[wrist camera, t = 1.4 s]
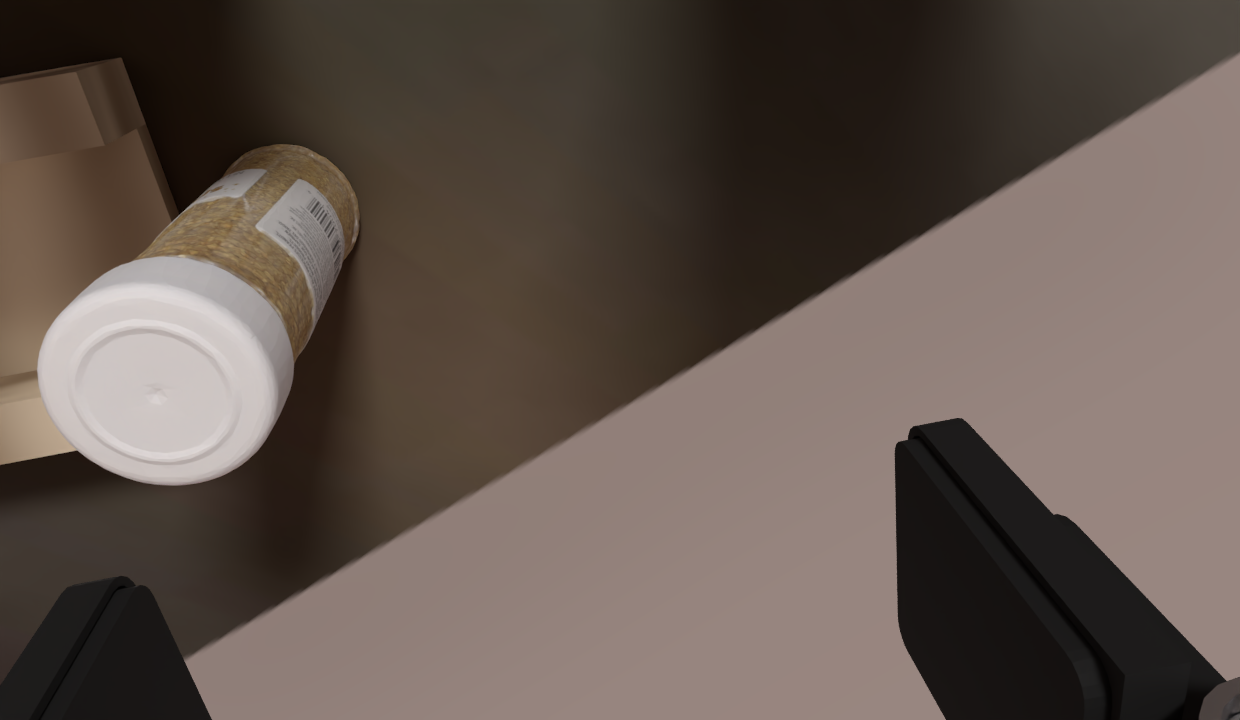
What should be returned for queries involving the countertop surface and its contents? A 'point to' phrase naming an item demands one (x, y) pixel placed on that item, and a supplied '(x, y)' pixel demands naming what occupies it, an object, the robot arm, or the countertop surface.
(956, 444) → the robot arm
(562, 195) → the countertop surface
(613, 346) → the countertop surface
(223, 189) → the sprinkles bottle
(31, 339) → the bottle rest
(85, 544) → the countertop surface
